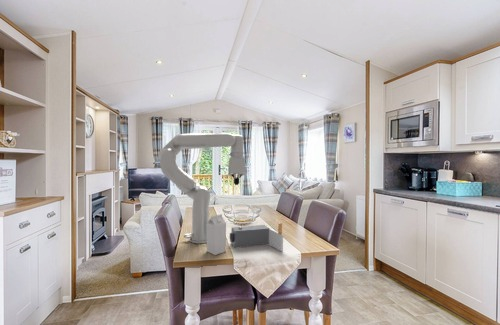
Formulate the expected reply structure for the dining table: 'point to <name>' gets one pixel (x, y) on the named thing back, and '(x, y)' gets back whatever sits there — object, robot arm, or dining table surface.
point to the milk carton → (216, 235)
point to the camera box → (249, 236)
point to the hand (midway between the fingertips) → (236, 184)
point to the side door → (276, 238)
